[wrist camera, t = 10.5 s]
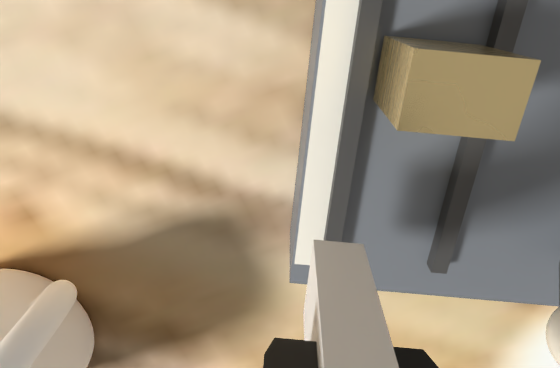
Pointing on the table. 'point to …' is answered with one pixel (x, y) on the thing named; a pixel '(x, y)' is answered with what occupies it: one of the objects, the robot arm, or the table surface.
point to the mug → (42, 323)
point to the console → (430, 158)
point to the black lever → (554, 331)
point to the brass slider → (453, 88)
